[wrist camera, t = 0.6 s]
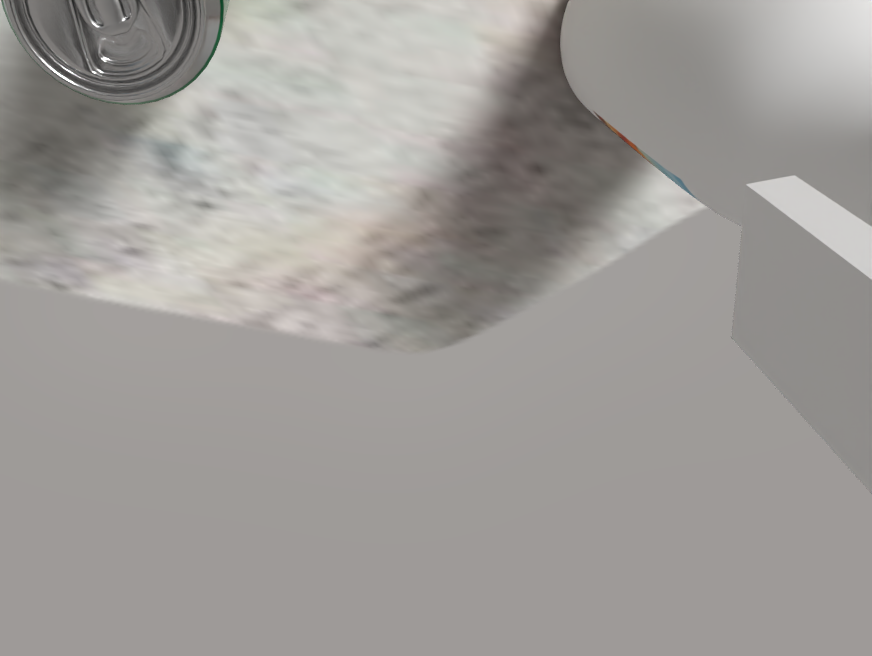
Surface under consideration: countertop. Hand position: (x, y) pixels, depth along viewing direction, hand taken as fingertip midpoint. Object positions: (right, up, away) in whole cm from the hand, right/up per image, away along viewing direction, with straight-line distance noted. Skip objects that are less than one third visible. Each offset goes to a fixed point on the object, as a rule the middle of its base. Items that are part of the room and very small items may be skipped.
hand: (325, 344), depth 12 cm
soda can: (-8, +14, +17) cm, 23 cm away
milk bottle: (+10, +12, +21) cm, 27 cm away
